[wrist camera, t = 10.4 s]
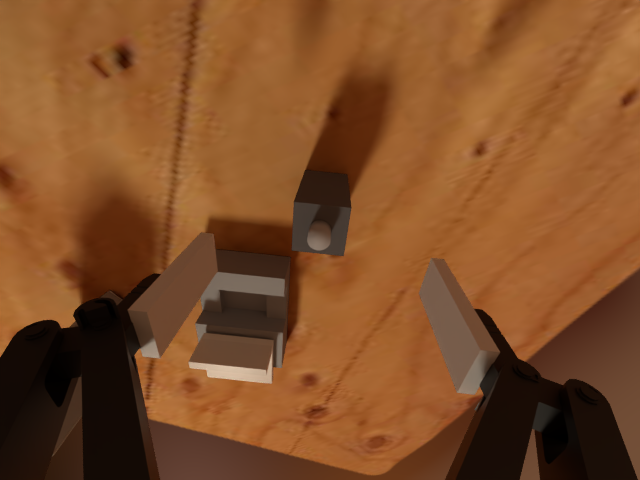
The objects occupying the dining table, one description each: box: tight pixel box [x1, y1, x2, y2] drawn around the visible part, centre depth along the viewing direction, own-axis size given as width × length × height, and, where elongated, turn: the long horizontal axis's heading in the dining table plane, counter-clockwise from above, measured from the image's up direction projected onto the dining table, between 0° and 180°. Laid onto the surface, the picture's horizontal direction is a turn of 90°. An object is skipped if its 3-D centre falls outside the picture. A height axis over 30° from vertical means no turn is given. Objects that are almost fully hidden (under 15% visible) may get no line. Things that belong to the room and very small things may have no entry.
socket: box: [195, 249, 291, 368], centre depth 33 cm, size 14×10×4 cm
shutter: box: [189, 333, 274, 384], centre depth 32 cm, size 7×8×4 cm
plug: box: [292, 170, 351, 256], centre depth 23 cm, size 4×4×10 cm
